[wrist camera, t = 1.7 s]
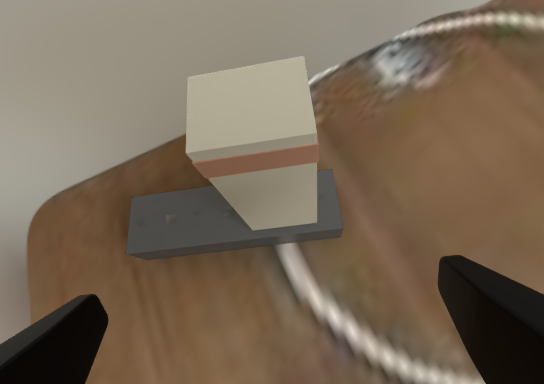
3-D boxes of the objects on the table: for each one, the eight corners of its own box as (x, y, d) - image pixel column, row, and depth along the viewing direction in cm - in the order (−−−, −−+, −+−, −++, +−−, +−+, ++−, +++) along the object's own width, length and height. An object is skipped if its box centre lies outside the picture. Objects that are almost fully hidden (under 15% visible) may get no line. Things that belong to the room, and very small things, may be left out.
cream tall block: (318, 223, 18) (318, 133, 8) (252, 231, 18) (184, 154, 9) (311, 177, 19) (304, 54, 10) (249, 185, 19) (186, 76, 10)
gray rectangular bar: (340, 237, 20) (343, 227, 17) (146, 259, 21) (125, 254, 19) (330, 183, 21) (332, 168, 19) (150, 207, 23) (131, 196, 20)
